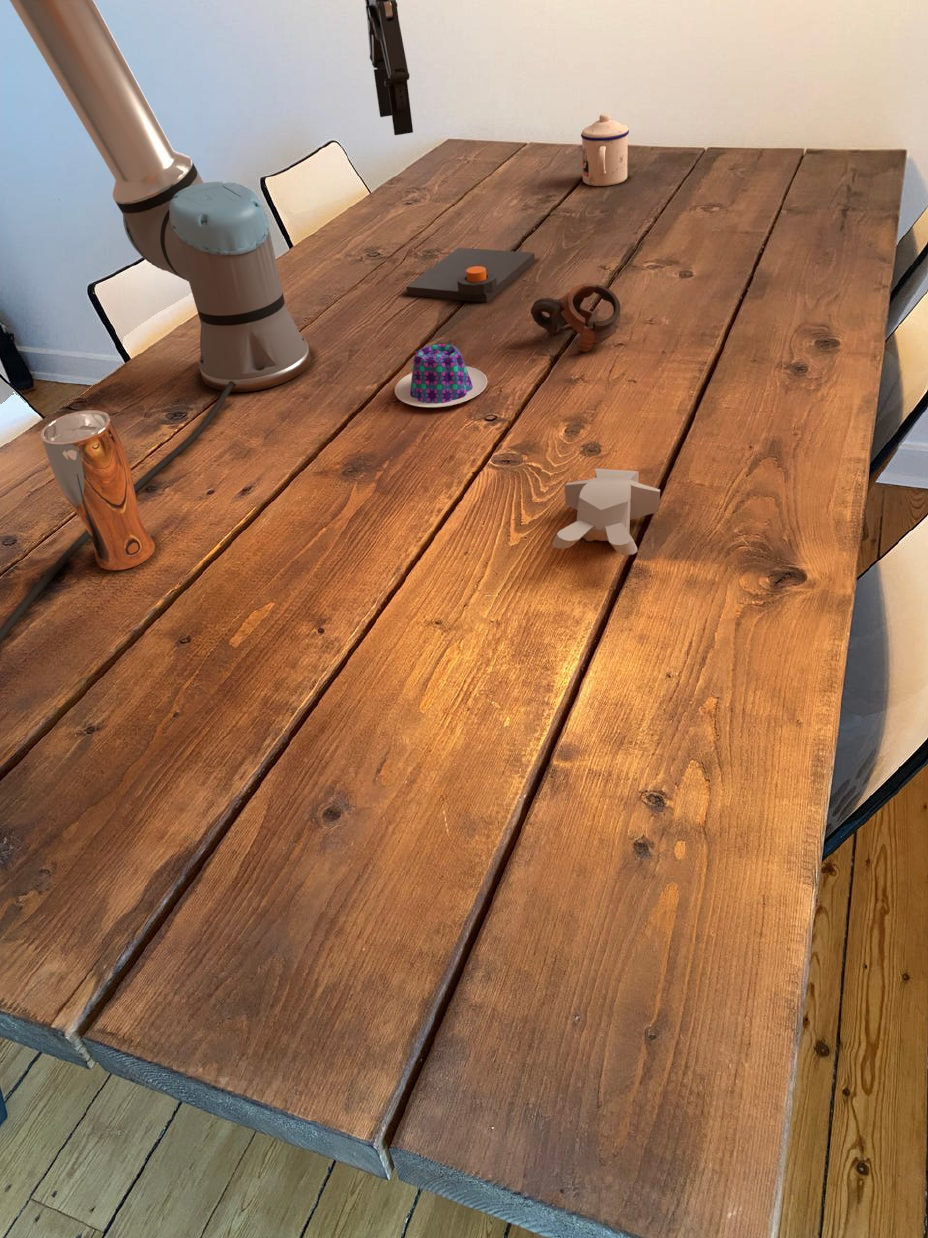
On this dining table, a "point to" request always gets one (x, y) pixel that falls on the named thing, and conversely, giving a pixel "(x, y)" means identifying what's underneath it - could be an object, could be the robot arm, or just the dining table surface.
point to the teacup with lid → (604, 152)
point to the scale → (452, 279)
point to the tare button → (476, 274)
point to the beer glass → (98, 486)
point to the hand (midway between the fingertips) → (396, 124)
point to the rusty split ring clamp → (578, 315)
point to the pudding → (440, 378)
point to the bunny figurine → (607, 509)
